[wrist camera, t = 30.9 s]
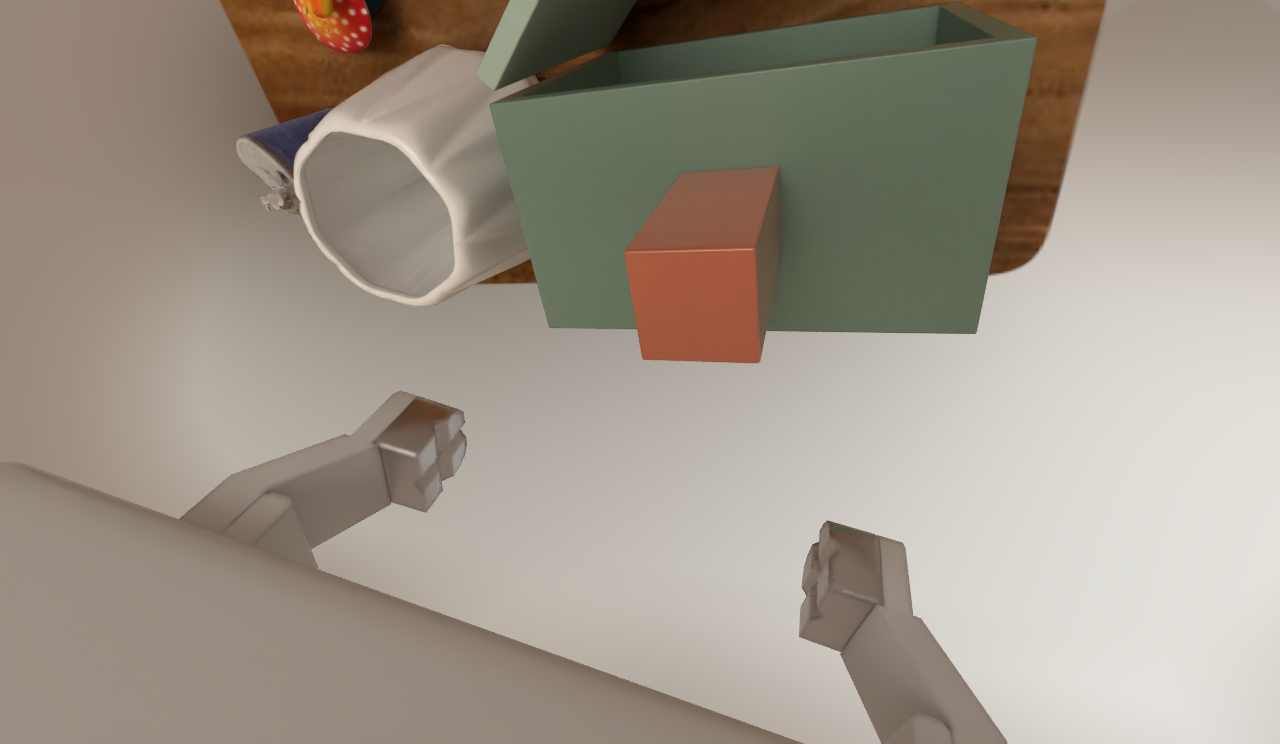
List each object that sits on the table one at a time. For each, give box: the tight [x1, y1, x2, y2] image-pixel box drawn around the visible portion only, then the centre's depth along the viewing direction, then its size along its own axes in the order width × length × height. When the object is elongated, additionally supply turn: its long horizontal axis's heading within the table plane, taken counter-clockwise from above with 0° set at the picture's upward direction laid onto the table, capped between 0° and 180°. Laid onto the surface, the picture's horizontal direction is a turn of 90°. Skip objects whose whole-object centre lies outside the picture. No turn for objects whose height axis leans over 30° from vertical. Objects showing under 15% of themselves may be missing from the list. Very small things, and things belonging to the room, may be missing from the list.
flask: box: [236, 108, 333, 238], centre depth 42 cm, size 9×3×11 cm, turn 38°
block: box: [624, 166, 780, 363], centre depth 21 cm, size 4×4×8 cm
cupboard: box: [489, 2, 1037, 334], centre depth 30 cm, size 11×20×16 cm, turn 99°
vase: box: [294, 44, 539, 307], centre depth 36 cm, size 14×14×15 cm
